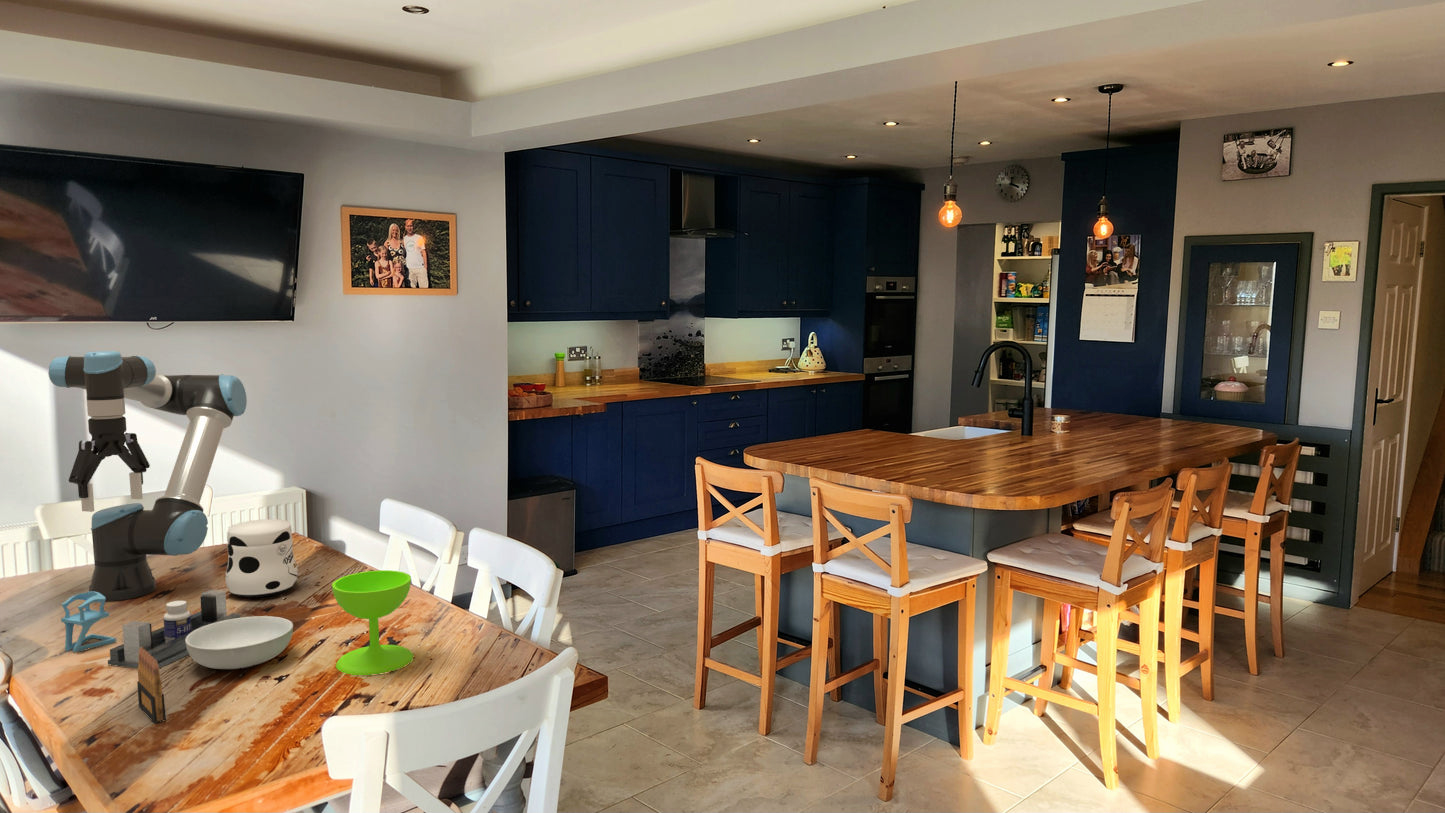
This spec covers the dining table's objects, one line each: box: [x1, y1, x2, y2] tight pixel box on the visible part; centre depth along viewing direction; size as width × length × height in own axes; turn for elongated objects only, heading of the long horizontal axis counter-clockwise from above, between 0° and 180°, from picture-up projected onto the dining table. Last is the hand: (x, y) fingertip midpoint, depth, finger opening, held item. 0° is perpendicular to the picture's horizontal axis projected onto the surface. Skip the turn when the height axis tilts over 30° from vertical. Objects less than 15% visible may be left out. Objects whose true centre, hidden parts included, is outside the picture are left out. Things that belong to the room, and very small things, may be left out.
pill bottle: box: [163, 600, 192, 643], centre depth 215 cm, size 5×5×9 cm
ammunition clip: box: [136, 647, 167, 724], centre depth 180 cm, size 11×2×12 cm, turn 45°
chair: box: [60, 591, 117, 653], centre depth 214 cm, size 8×8×12 cm
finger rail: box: [107, 589, 241, 669], centre depth 215 cm, size 26×12×9 cm, turn 166°
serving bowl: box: [185, 615, 294, 670], centre depth 206 cm, size 21×21×7 cm
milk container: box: [224, 518, 299, 598], centre depth 253 cm, size 17×17×18 cm
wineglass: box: [331, 569, 414, 675], centre depth 206 cm, size 16×16×18 cm
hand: (113, 505), depth 227 cm, fingers open, 13 cm apart
